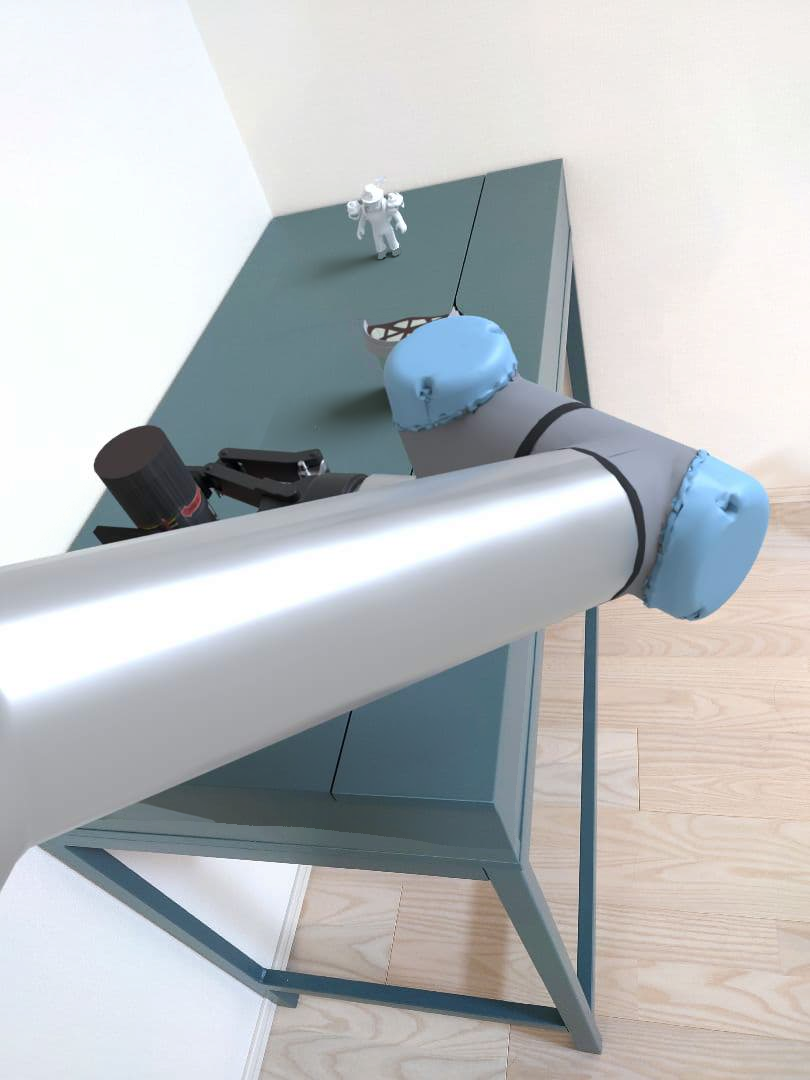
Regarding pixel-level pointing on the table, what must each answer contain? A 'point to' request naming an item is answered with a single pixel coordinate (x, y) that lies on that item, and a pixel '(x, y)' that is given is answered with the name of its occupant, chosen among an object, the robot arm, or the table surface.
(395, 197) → the blocky character figurine
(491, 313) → the table surface
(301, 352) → the table surface
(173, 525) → the deodorant
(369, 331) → the food container
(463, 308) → the table surface
